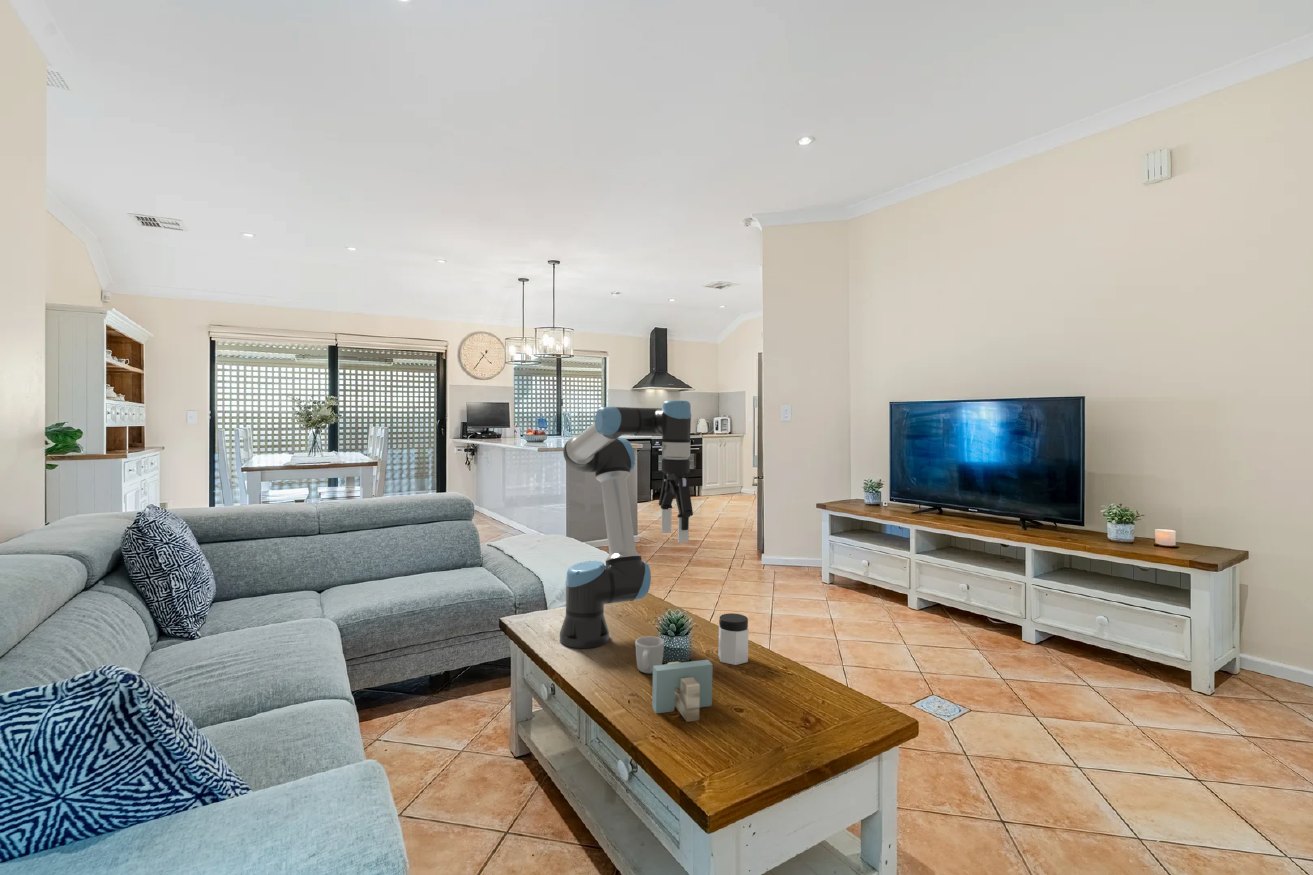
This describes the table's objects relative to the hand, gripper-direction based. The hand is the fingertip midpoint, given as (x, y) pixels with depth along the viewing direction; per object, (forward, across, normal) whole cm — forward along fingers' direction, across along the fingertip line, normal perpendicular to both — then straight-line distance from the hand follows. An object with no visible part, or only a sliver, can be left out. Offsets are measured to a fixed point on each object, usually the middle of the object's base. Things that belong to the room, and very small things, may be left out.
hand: (674, 537), depth 161 cm
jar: (+37, -4, +20) cm, 42 cm away
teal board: (+37, +19, -4) cm, 41 cm away
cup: (+37, -2, -6) cm, 37 cm away
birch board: (+37, +19, -4) cm, 42 cm away
